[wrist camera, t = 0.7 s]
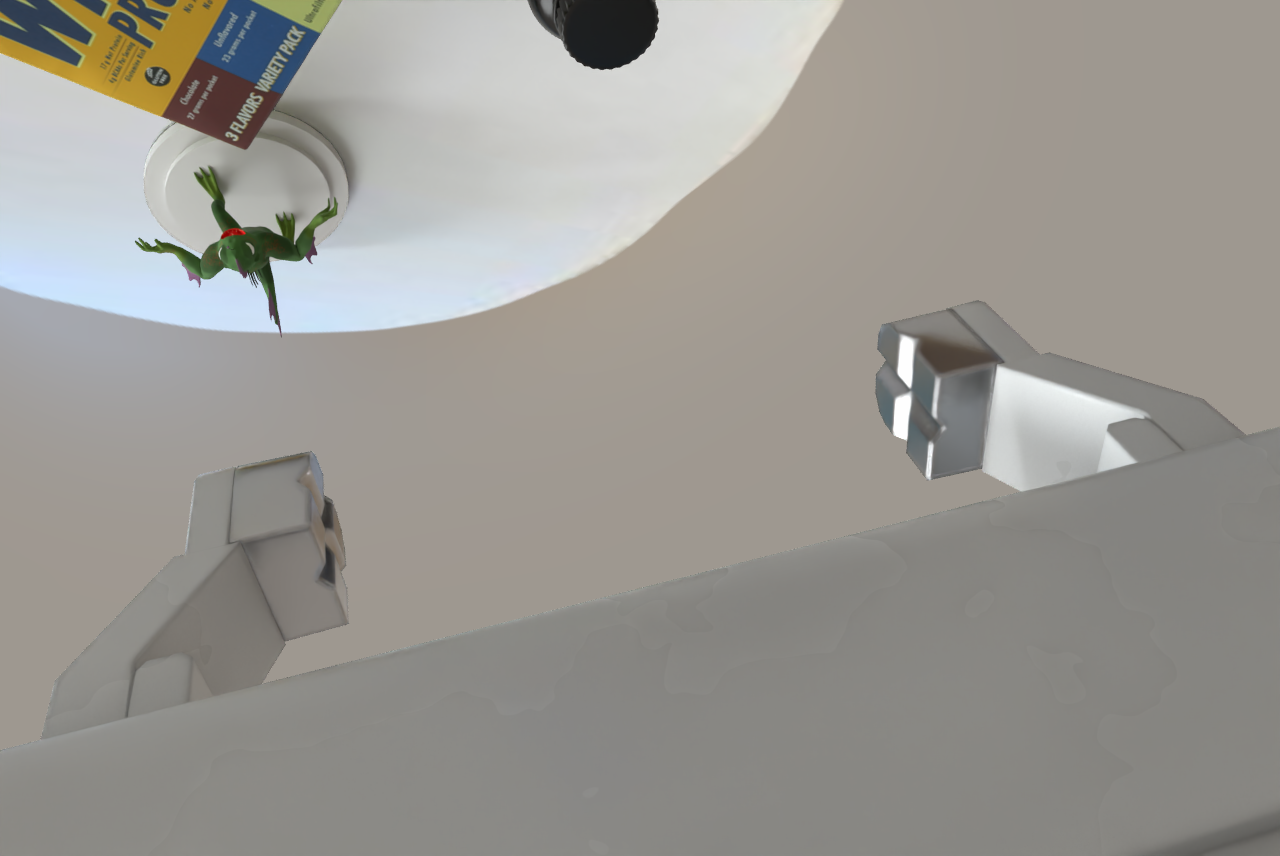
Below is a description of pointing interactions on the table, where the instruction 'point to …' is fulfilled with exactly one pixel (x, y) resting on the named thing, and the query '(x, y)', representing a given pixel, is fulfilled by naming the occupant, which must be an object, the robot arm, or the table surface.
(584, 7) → the supplement bottle
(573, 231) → the table surface
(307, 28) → the protein box
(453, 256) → the table surface
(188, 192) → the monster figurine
